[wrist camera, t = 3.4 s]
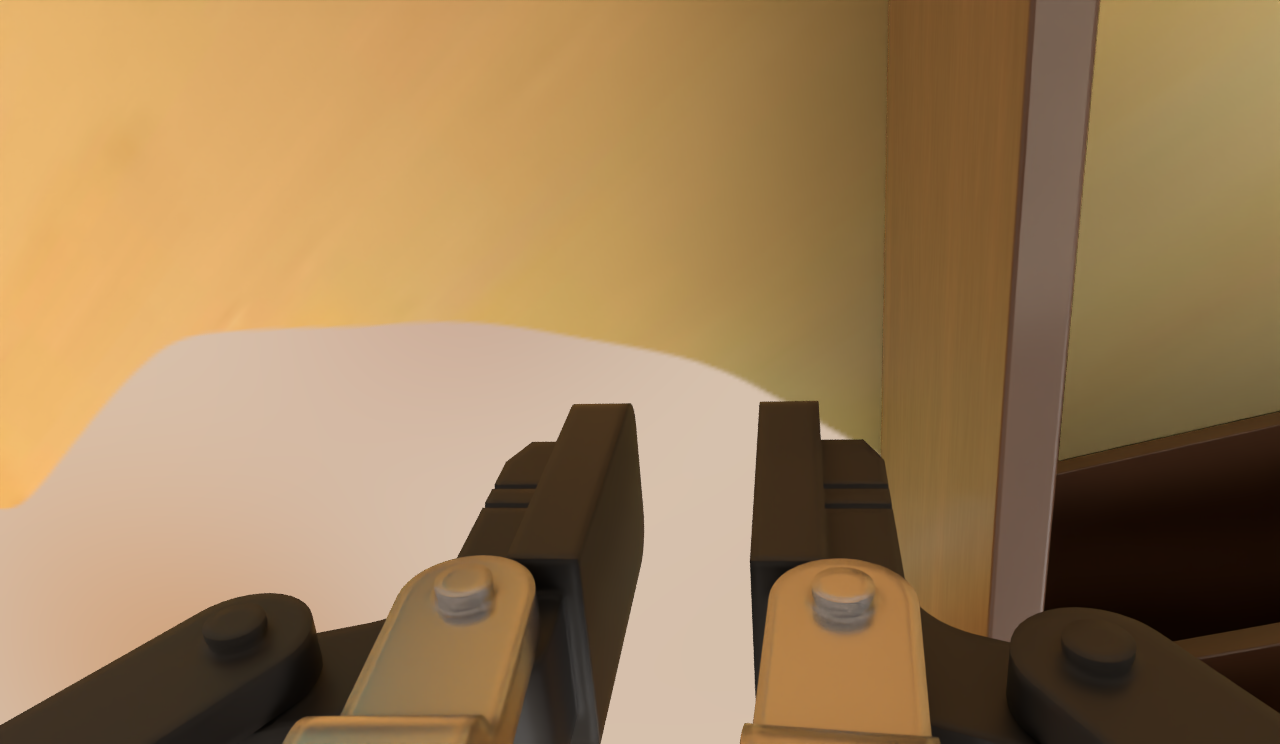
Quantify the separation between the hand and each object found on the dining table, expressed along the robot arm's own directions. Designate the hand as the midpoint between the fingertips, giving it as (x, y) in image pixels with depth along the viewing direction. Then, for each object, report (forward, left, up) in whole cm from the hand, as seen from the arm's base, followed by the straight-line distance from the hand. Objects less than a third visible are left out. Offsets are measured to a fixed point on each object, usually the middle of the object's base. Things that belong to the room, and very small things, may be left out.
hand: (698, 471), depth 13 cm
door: (+4, +1, -29) cm, 29 cm away
